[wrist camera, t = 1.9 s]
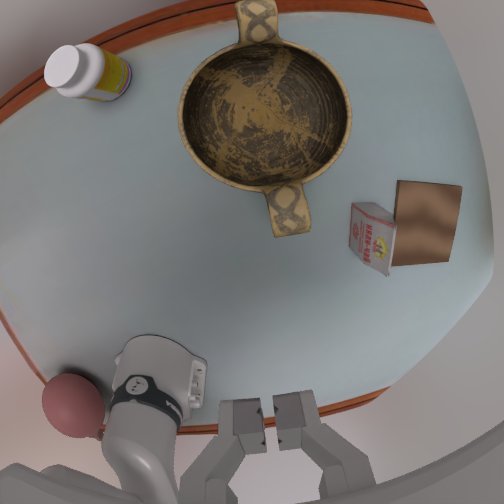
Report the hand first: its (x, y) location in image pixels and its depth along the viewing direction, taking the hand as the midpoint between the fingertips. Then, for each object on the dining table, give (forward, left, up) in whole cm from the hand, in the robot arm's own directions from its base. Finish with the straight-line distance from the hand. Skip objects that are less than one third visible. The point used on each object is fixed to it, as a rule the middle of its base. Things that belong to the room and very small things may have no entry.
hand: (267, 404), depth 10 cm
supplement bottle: (+19, +18, -31) cm, 41 cm away
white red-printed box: (-4, -17, -31) cm, 36 cm away
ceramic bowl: (+11, -2, -31) cm, 33 cm away
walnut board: (-4, -30, -31) cm, 43 cm away
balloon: (-42, +40, -31) cm, 66 cm away
